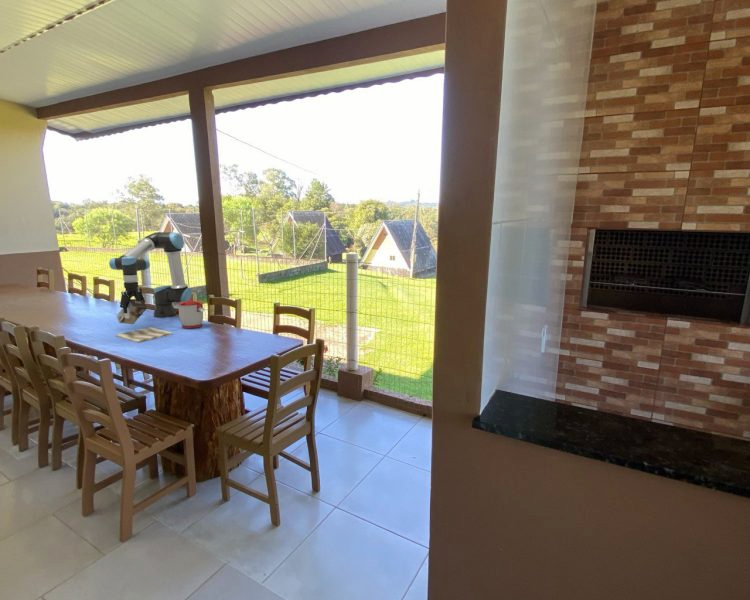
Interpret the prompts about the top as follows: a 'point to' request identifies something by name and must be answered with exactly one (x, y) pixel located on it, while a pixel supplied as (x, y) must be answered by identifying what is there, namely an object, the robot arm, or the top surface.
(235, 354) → the top surface
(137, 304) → the coffee box
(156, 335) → the striped cloth
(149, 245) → the robot arm
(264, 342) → the top surface
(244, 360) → the top surface
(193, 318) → the citrus juicer
